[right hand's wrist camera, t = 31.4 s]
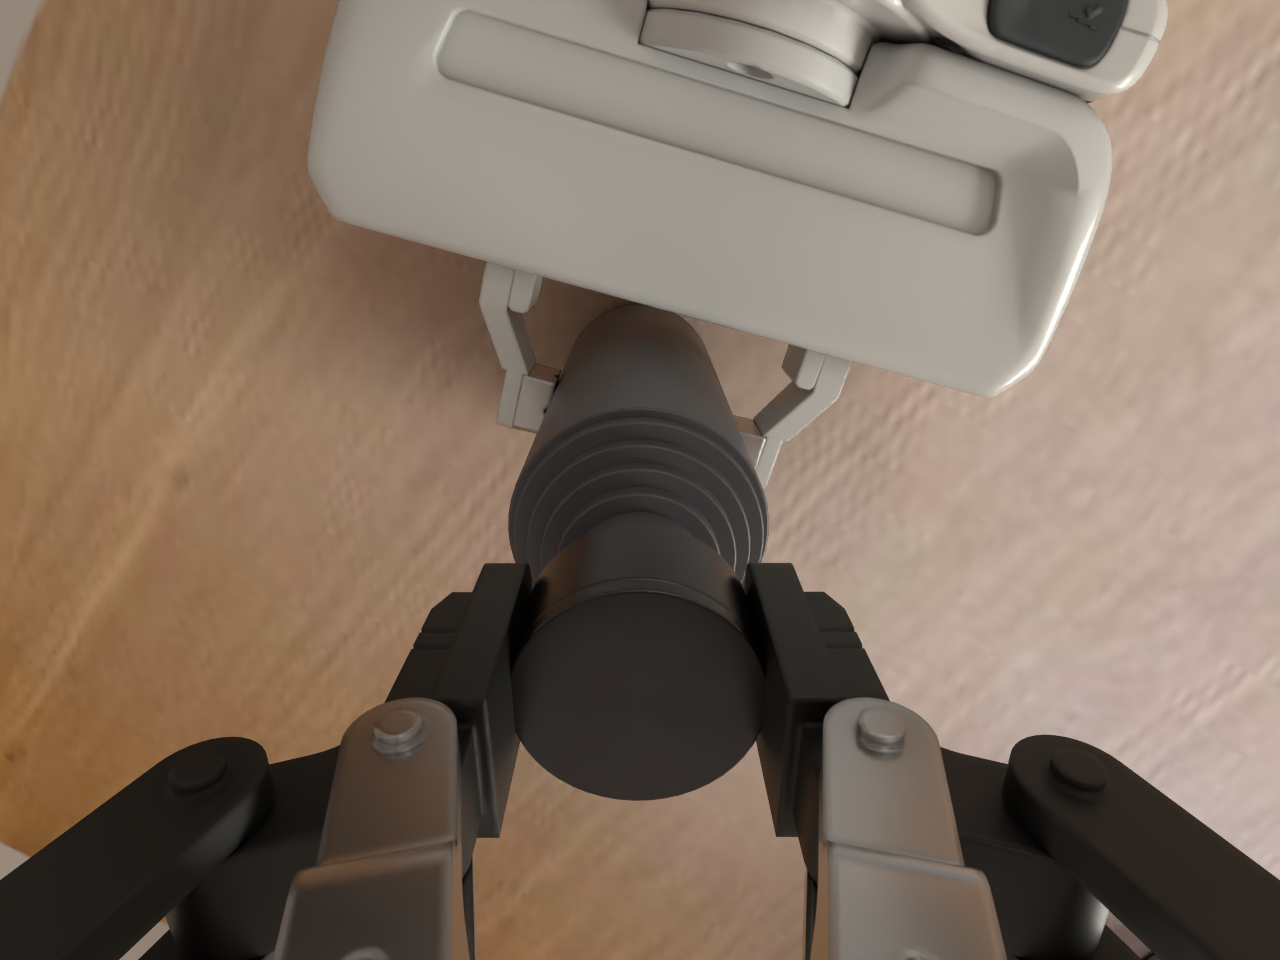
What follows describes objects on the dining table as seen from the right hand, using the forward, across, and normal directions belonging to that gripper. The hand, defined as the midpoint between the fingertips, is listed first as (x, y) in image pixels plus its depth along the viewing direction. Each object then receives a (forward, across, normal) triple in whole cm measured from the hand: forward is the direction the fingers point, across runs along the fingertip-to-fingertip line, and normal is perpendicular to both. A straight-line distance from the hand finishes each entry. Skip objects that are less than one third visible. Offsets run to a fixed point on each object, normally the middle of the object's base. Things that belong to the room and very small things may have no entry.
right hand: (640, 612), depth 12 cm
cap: (-2, 0, 0) cm, 2 cm away
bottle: (+17, 0, 0) cm, 17 cm away
